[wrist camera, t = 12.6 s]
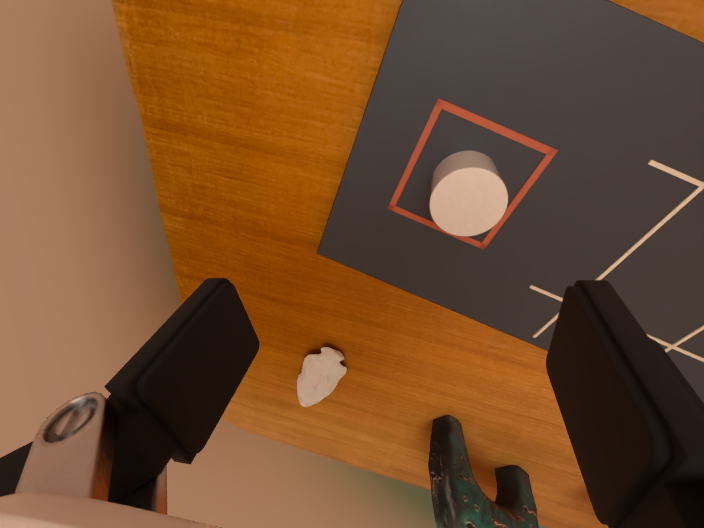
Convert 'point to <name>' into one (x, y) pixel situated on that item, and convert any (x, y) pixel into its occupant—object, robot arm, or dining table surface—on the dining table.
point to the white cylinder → (467, 194)
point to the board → (537, 165)
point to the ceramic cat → (474, 486)
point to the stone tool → (319, 376)
